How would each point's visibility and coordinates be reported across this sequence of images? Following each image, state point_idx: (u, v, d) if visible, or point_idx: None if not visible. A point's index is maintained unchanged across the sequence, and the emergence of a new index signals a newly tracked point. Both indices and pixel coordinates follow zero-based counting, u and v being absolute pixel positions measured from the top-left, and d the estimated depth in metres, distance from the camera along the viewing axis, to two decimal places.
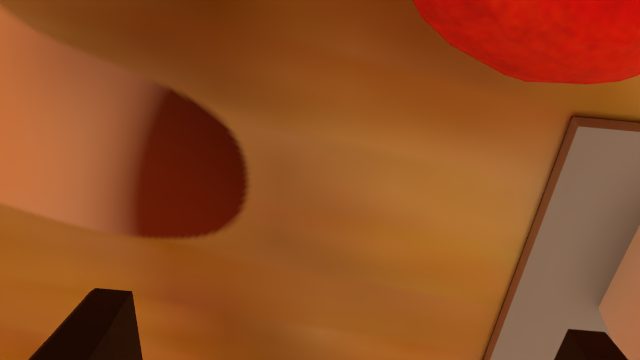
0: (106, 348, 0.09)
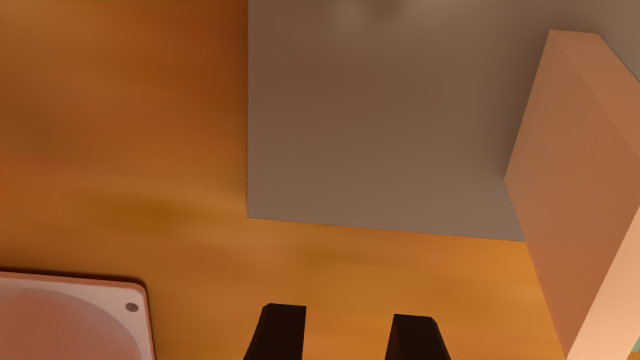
0: None
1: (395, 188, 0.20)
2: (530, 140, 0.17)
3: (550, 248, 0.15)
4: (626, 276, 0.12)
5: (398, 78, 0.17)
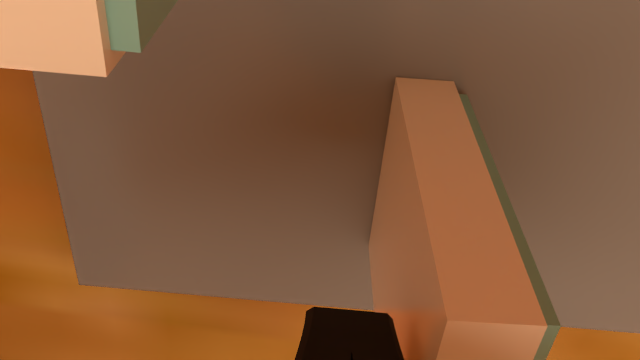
0: None
1: (244, 254, 0.17)
2: (382, 209, 0.14)
3: None
4: None
5: (224, 131, 0.15)
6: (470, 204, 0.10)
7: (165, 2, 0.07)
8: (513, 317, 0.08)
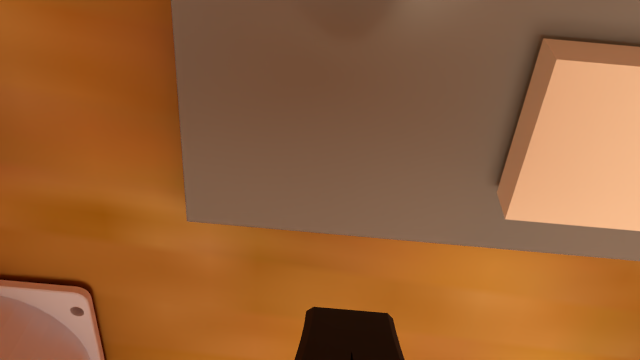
0: None
1: (335, 191, 0.19)
2: (565, 161, 0.16)
3: None
4: None
5: (330, 79, 0.17)
6: None
7: None
8: None
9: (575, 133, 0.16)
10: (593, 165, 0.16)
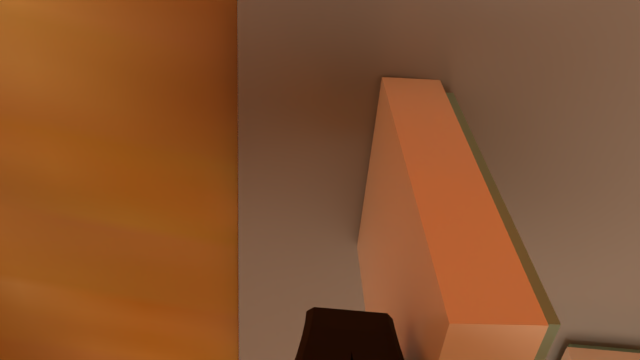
0: None
1: None
2: None
3: None
4: None
5: None
6: None
7: None
8: None
9: None
10: None
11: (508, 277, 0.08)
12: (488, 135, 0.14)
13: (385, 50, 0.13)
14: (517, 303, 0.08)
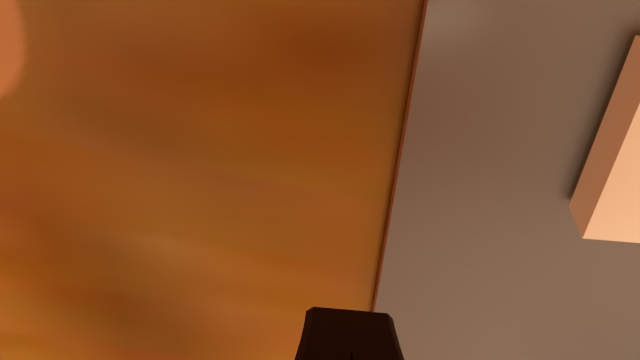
0: None
1: None
2: None
3: None
4: None
5: (508, 316, 0.20)
6: None
7: None
8: None
9: None
10: None
11: None
12: None
13: (572, 0, 0.14)
14: None
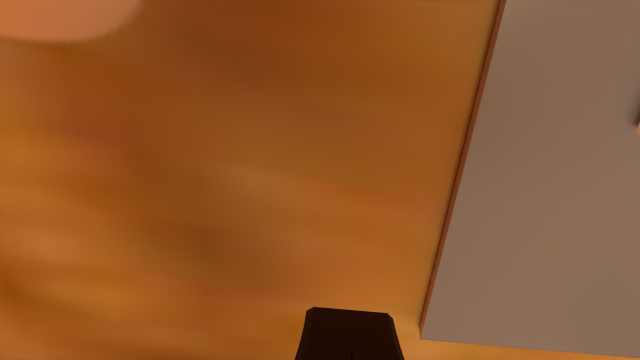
0: None
1: (551, 320, 0.24)
2: None
3: None
4: None
5: (570, 244, 0.21)
6: None
7: None
8: None
9: None
10: None
11: None
12: None
13: None
14: None
